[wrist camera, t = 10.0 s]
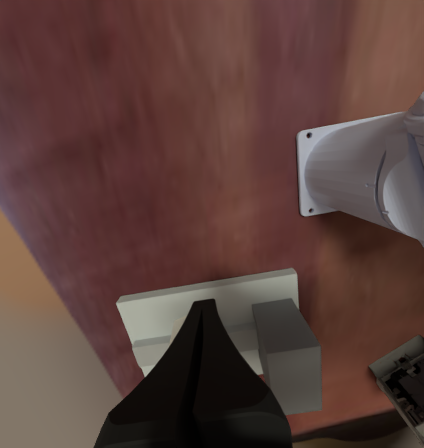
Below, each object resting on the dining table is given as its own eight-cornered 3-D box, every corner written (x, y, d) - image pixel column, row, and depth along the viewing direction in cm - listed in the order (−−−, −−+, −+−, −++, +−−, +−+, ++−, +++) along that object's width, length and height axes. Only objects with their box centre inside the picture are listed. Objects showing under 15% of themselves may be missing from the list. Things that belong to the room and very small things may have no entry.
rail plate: (292, 267, 22) (330, 315, 15) (298, 359, 26) (329, 428, 19) (120, 296, 23) (82, 353, 16) (152, 380, 27) (133, 455, 20)
